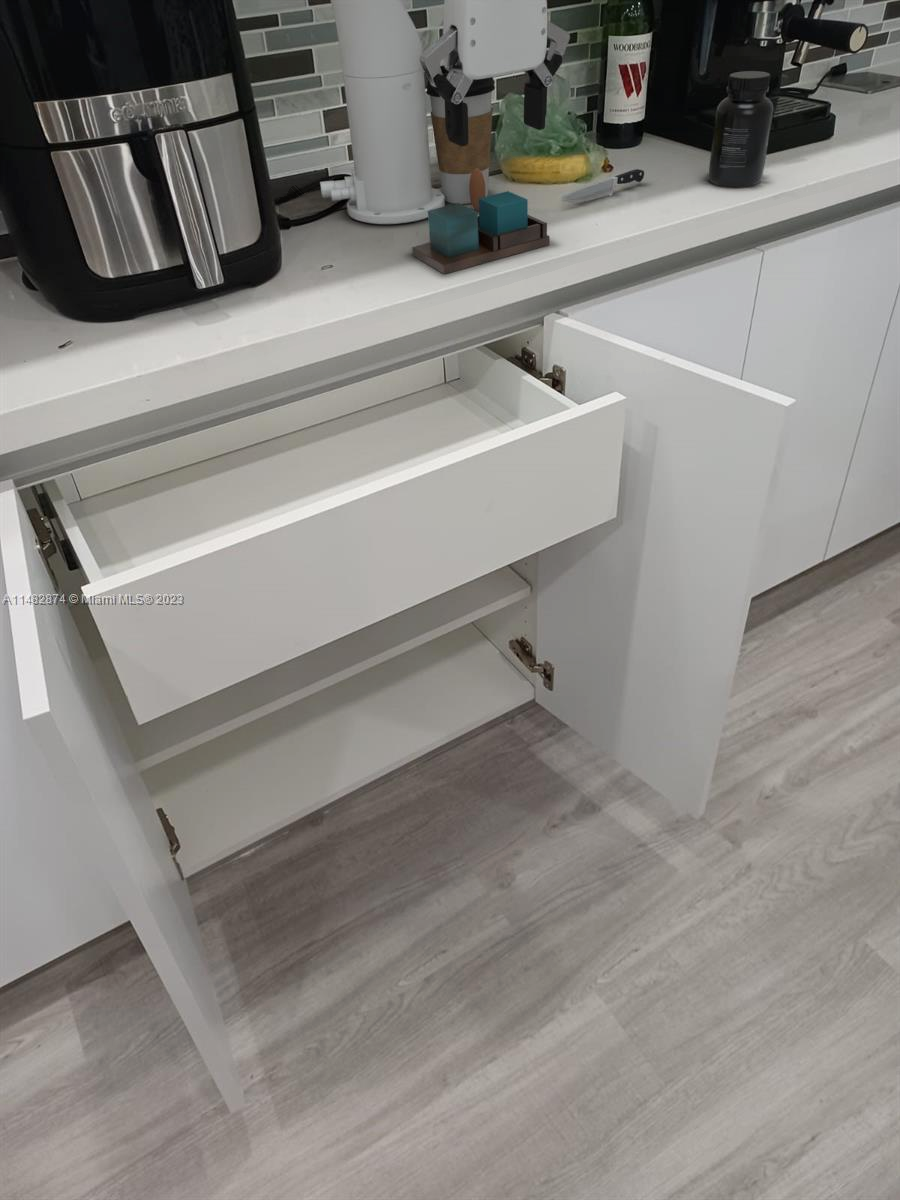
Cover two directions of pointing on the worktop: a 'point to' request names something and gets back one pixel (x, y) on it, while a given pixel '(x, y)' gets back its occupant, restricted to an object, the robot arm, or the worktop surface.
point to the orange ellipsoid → (476, 187)
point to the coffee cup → (476, 153)
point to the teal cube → (502, 213)
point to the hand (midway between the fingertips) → (496, 134)
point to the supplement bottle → (741, 131)
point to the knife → (602, 187)
